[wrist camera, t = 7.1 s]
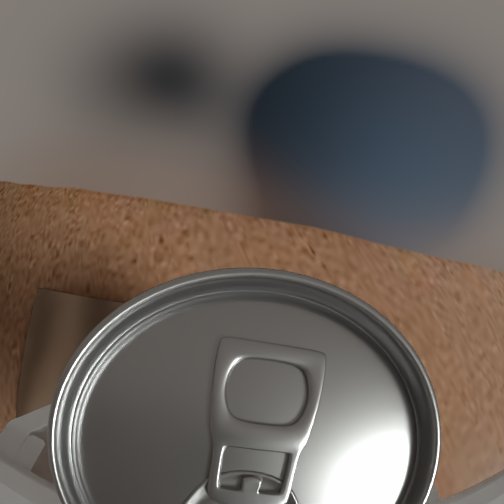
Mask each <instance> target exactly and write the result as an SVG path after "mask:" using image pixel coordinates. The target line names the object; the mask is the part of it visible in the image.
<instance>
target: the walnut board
mask: <svg viewBox="0 0 504 504" xmlns="http://www.w3.org/2000/svg"><path fill="white" fill-rule="evenodd" d="M123 304H124V303H120V302H114V301H108V300H102V299H96V298H90V297H84V296H79V295H73V294H68V293H63V292H58V291H53V290H48V289H43V288H38V291H37V295H36V298H35V302H34V306H33V310H32V314H31V318H30V323H29V327H28V332H27V337H26V342H25V347H24V353H23V359H22V365H21V372H20V380H19V389H18V399H17V413H16V418H18V417H21V416H23V415H26V414H28V413H30V412H33V411H35V410H38V409H40V408H42V407H45V406H47V405H49V404H51V403H52V399H53V395H54V392H55V389H56V386H57V384H58V381H59V379H60V377H61V375H62V372H63V370H64V369H65V367H66V365H67V363H68V361H69V360H70V358H71V356H72V355H73V353H74V352H75V350H76V349H77V348H78V346H79V345H80V344H81V342H82V341H83V340H84V339H85V338H86V336H87V335H88V334H89V333H90V332H91V331H92V330H93V329H94V328H95V327H96V326H97V325H98V324H99V323H100V322H101V321H102V320H103V319H104V318H106V317H107V316H108V315H109V314H110V313H112V312H113V311H114V310H116V309H117V308H118V307H120V306H121V305H123Z"/></svg>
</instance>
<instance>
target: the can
mask: <svg viewBox="0 0 504 504" xmlns="http://www.w3.org/2000/svg"><path fill="white" fill-rule="evenodd" d="M440 447H441V426H440V416H439V409H438V404H437V400H436V396H435V393H434V390H433V386H432V384H431V381H430V379H429V376H428V374H427V372H426V370H425V368H424V366H423V364H422V362H421V360H420V358H419V357H418V355H417V354H416V352H415V350H414V349H413V348H412V346H411V345H410V343H409V342H408V341H407V339H406V338H405V337H404V336H403V335H402V334H401V332H400V331H399V330H398V329H397V328H396V327H395V326H394V325H393V324H392V323H391V322H390V321H389V320H388V319H387V318H386V317H384V316H383V315H382V314H381V313H380V312H378V311H377V310H376V309H375V308H373V307H372V306H370V305H369V304H368V303H366V302H364V301H363V300H361V299H360V298H358V297H356V296H355V295H353V294H351V293H349V292H347V291H345V290H343V289H341V288H339V287H337V286H335V285H332V284H330V283H327V282H325V281H322V280H319V279H316V278H313V277H310V276H306V275H302V274H298V273H294V272H289V271H283V270H276V269H266V268H227V269H217V270H210V271H205V272H199V273H195V274H190V275H187V276H183V277H180V278H177V279H174V280H171V281H168V282H165V283H163V284H160V285H158V286H155V287H153V288H151V289H149V290H147V291H145V292H143V293H141V294H139V295H137V296H136V297H134V298H132V299H130V300H129V301H127V302H126V303H124V304H123V305H121V306H120V307H118V308H117V309H116V310H114V311H113V312H112V313H110V314H109V315H108V316H107V317H106V318H104V319H103V320H102V321H101V322H100V323H99V324H98V325H97V326H96V327H95V328H94V329H93V330H92V331H91V332H90V333H89V334H88V335H87V336H86V338H85V339H84V340H83V341H82V342H81V344H80V345H79V346H78V348H77V349H76V350H75V352H74V353H73V355H72V356H71V358H70V360H69V361H68V363H67V365H66V367H65V369H64V370H63V372H62V375H61V377H60V379H59V381H58V384H57V386H56V389H55V392H54V395H53V399H52V403H51V407H50V412H49V418H48V427H47V451H48V460H49V466H50V471H51V475H52V479H53V483H54V486H55V489H56V492H57V494H58V497H59V499H60V502H61V504H426V502H427V499H428V497H429V495H430V492H431V489H432V487H433V483H434V480H435V477H436V473H437V468H438V463H439V457H440Z"/></svg>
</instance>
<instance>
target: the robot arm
mask: <svg viewBox="0 0 504 504" xmlns="http://www.w3.org/2000/svg"><path fill="white" fill-rule="evenodd" d="M50 407H51V404H49V405H47V406H45V407H42V408H40V409H38V410H35V411H33V412H30V413H28V414H26V415H23V416H21V417H18V418H16V419H13V420H11V421H9V423H8V424H7V425H6V427H5V428H4V429H3V431H2V432H1V434H0V504H61V502H60V499H59V497H58V494H57V492H56V489H55V486H54V483H53V479H52V475H51V471H50V466H49V460H48V451H47V427H48V418H49V412H50ZM426 504H504V470H502V471H500V472H498V473H497V474H495V475H493V476H491V477H489V478H487V479H486V480H484V481H482V482H480V483H478V484H476V485H474V486H472V487H470V488H468V489H465V490H463V491H461V492H459V493H457V494H454V495H452V496H450V497H447V498H445V499H442V500H441V499H440V496H439V494H438V491H437V489H436V487H435V484H434V483H433V487H432V489H431V492H430V495H429V497H428V499H427V502H426Z"/></svg>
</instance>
